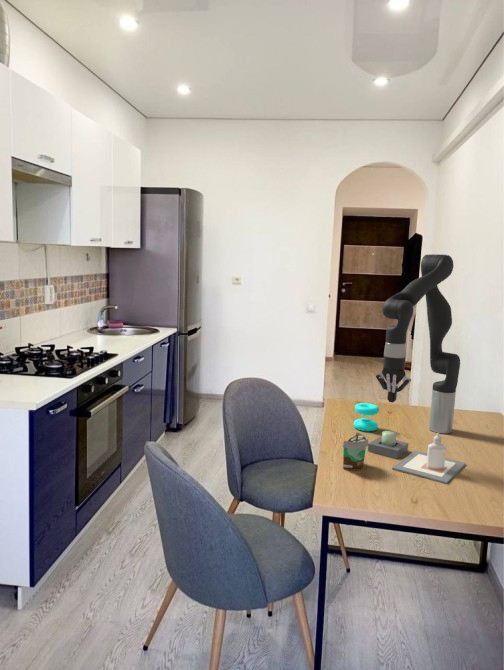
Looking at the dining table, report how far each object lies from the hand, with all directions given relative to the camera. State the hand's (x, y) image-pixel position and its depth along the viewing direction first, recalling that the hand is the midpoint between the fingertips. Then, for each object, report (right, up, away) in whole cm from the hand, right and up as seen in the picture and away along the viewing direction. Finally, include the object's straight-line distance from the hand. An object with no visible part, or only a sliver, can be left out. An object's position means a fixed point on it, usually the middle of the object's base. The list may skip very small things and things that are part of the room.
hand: (391, 401), depth 192 cm
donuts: (-3, -15, +29) cm, 33 cm away
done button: (-1, -18, +2) cm, 18 cm away
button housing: (-1, -19, +2) cm, 19 cm away
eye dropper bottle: (+11, -21, -14) cm, 27 cm away
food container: (-15, -20, -14) cm, 29 cm away
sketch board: (+10, -21, -12) cm, 26 cm away
